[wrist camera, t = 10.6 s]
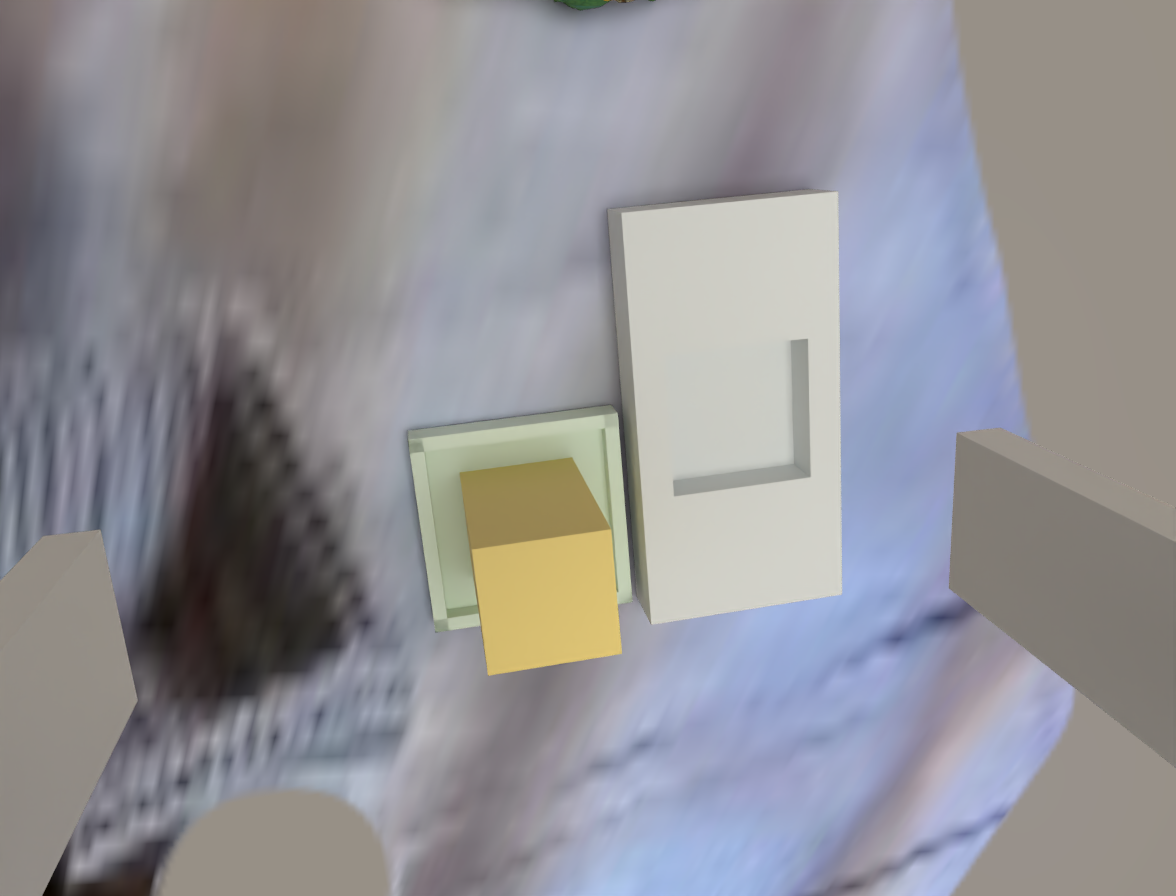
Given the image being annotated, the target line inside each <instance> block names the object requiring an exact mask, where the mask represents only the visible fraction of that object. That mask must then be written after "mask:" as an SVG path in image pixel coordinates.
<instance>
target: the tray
mask: <svg viewBox="0 0 1176 896" xmlns="http://www.w3.org/2000/svg"><path fill="white" fill-rule="evenodd" d="M408 444H409V451H410V458H411V465H412V472H413V479H414V486H415V493H416V500H417V507H418V514H419V521H420V528H421V535H422V542H423V549H424V555H425V562H426V569H427V576H428V583H429V590H430V597H431V604H432V611H433V618H434V625H435V632H442V631H449V630H455V629H462V628H468V627H475V626H481V625H480V618H479V612H478V605H477V599H476V592H475V586H474V579H473V572H472V564H471V557H470V549H469V542H468V534H467V526H466V519H465V511H464V504H463V496H462V488H461V481H460V473H459V472H467V471H474V470H482V469H489V468H496V467H504V466H511V465H519V464H526V463H533V462H541V461H548V460H556V459H563V458H571V457H572V458H573V460H574V462H575V464H576V465H577V467H578V469H579V471H580V473H581V475H582V476H583V478H584V480H585V482H586V484H587V486H588V487H589V489H590V491H591V493H592V495H593V497H594V498H595V500H596V502H597V504H598V506H599V508H600V510H601V511H602V513H603V515H604V517H605V519H606V521H607V522H608V524H609V526H610V528H611V532H612V544H613V556H614V568H615V579H616V591H617V603H618V604H623V603H629V602H632V590H631V577H630V564H629V552H628V539H627V526H626V513H625V500H624V488H623V475H622V462H621V449H620V436H619V423H618V413H617V412H616V411H615V409H614V408H613V407H612V406H611V405H607V406H599V407H591V408H583V409H575V410H567V411H559V412H552V413H544V414H536V415H528V416H520V417H512V418H504V419H496V420H488V421H480V422H472V423H464V424H457V425H449V426H441V427H433V428H425V429H417V430H409V431H408Z"/></svg>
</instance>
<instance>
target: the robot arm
mask: <svg viewBox="0 0 1176 896" xmlns="http://www.w3.org/2000/svg"><path fill="white" fill-rule="evenodd" d="M949 589H950V590H952V591H953V592H954V593H956V594H957V595H958V596H959V597H961V598H962V599H963V600H964V601H966V602H967V603H968V604H969V605H971V606H972V607H973V608H974V609H976V610H977V611H978V612H979V613H981V614H982V615H983V616H985V617H986V618H987V619H988V620H990V621H991V622H992V623H993V624H995V625H996V626H997V627H998V628H1000V629H1001V630H1002V631H1003V632H1005V633H1006V634H1007V635H1009V636H1010V637H1011V638H1012V639H1014V640H1015V641H1016V642H1017V643H1019V644H1020V645H1021V646H1022V647H1024V648H1025V649H1026V650H1027V651H1029V652H1030V653H1031V654H1032V655H1034V656H1035V657H1036V658H1038V659H1039V660H1040V661H1041V662H1043V663H1044V664H1045V665H1046V666H1048V667H1049V668H1050V669H1051V670H1053V671H1054V672H1055V673H1056V674H1058V675H1059V676H1060V677H1061V678H1063V679H1064V680H1065V681H1067V682H1068V683H1069V684H1070V685H1072V686H1073V687H1074V688H1075V689H1077V690H1078V691H1079V692H1080V693H1082V694H1083V695H1084V696H1086V697H1087V698H1088V699H1089V700H1091V701H1092V702H1093V703H1094V704H1096V705H1097V706H1098V707H1099V708H1101V709H1102V710H1103V711H1105V712H1106V713H1107V714H1108V715H1110V716H1111V717H1112V718H1113V719H1114V720H1116V721H1117V722H1118V723H1120V724H1121V725H1122V726H1123V727H1125V728H1126V729H1127V730H1129V731H1130V732H1131V733H1132V734H1133V735H1135V736H1136V737H1137V738H1138V739H1140V740H1141V741H1142V742H1144V743H1145V744H1146V745H1147V746H1149V747H1150V748H1151V749H1153V750H1154V751H1155V752H1156V753H1157V754H1159V755H1160V756H1161V757H1162V758H1164V759H1165V760H1166V761H1167V762H1169V763H1170V764H1171V765H1173V766H1174V767H1175V768H1176V507H1173V506H1171V505H1169V504H1167V503H1165V502H1162V501H1160V500H1158V499H1156V498H1153V497H1151V496H1149V495H1147V494H1145V493H1143V492H1140V491H1138V490H1136V489H1134V488H1132V487H1129V486H1127V485H1125V484H1123V483H1120V482H1118V481H1116V480H1114V479H1112V478H1110V477H1107V476H1105V475H1103V474H1101V473H1099V472H1096V471H1094V470H1092V469H1090V468H1088V467H1085V466H1083V465H1081V464H1079V463H1076V462H1074V461H1072V460H1070V459H1068V458H1066V457H1063V456H1061V455H1059V454H1057V453H1054V452H1052V451H1050V450H1048V449H1046V448H1044V447H1041V446H1039V445H1037V444H1035V443H1033V442H1030V441H1028V440H1026V439H1024V438H1022V437H1019V436H1017V435H1015V434H1013V433H1011V432H1008V431H1006V430H1004V429H1002V428H994V429H985V430H976V431H967V432H958V433H957V437H956V457H955V476H954V496H953V516H952V536H951V555H950V575H949ZM137 701H138V700H137V695H136V691H135V686H134V682H133V677H132V672H131V668H130V663H129V659H128V654H127V649H126V645H125V640H124V636H123V631H122V626H121V622H120V617H119V613H118V608H117V604H116V599H115V594H114V590H113V585H112V581H111V576H110V571H109V567H108V562H107V558H106V553H105V549H104V544H103V539H102V535H101V530H93V531H85V532H76V533H67V534H58V535H49V536H43V537H42V538H41V539H40V540H39V541H38V542H37V543H36V544H35V545H34V546H33V547H32V548H31V549H30V550H29V551H28V552H27V553H26V555H25V556H24V557H23V558H22V559H21V560H20V561H19V562H18V563H17V564H16V565H15V566H14V567H13V568H12V569H11V570H10V571H9V572H8V573H7V574H6V576H5V577H4V578H3V579H2V580H1V581H0V896H42V894H43V892H44V890H45V888H46V886H47V884H48V882H49V880H50V878H51V876H52V874H53V872H54V870H55V868H56V866H57V864H58V862H59V860H60V858H61V856H62V854H63V852H64V850H65V848H66V845H67V843H68V841H69V839H70V837H71V835H72V833H73V831H74V829H75V827H76V825H77V823H78V821H79V819H80V817H81V815H82V813H83V811H84V809H85V807H86V805H87V803H88V801H89V799H90V797H91V795H92V793H93V791H94V788H95V786H96V784H97V782H98V780H99V778H100V776H101V774H102V772H103V770H104V768H105V766H106V764H107V762H108V760H109V758H110V756H111V754H112V752H113V750H114V748H115V746H116V744H117V742H118V740H119V738H120V736H121V733H122V731H123V729H124V727H125V725H126V723H127V721H128V719H129V717H130V715H131V713H132V711H133V709H134V707H135V705H136V703H137Z"/></svg>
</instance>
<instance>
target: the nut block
mask: <svg viewBox="0 0 1176 896" xmlns="http://www.w3.org/2000/svg"><path fill="white" fill-rule="evenodd" d="M459 473H460V481H461V488H462V496H463V504H464V511H465V519H466V526H467V534H468V542H469V549H470V557H471V564H472V572H473V579H474V586H475V592H476V599H477V605H478V612H479V618H480V625H481V632H482V638H483V645H484V651H485V658H486V664H487V671H488V676H489V675H495V674H501V673H507V672H514V671H520V670H526V669H532V668H538V667H544V666H550V665H556V664H562V663H568V662H574V661H581V660H587V659H593V658H599V657H605V656H611V655H617V654H622V650H621V638H620V626H619V615H618V603H617V591H616V579H615V568H614V556H613V544H612V532H611V528H610V526H609V524H608V522H607V521H606V519H605V517H604V515H603V513H602V511H601V510H600V508H599V506H598V504H597V502H596V500H595V498H594V497H593V495H592V493H591V491H590V489H589V487H588V486H587V484H586V482H585V480H584V478H583V476H582V475H581V473H580V471H579V469H578V467H577V465H576V464H575V462H574V460H573V458H572V457H571V458H563V459H556V460H548V461H541V462H533V463H526V464H519V465H511V466H504V467H496V468H489V469H482V470H474V471H467V472H459Z"/></svg>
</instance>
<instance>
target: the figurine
mask: <svg viewBox="0 0 1176 896" xmlns="http://www.w3.org/2000/svg"><path fill="white" fill-rule="evenodd" d="M554 1H555V2H557V1H559V2H563V3H565V4H567V6H569V7H571V8H575V9H578V10H584V9H591V8H598V7H601V6H603V5H604V4H606V3H608V2H609V1H611V0H554ZM616 1H617V2H618V3H626V2H631V1H634V0H616ZM649 1H655V0H649Z"/></svg>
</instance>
